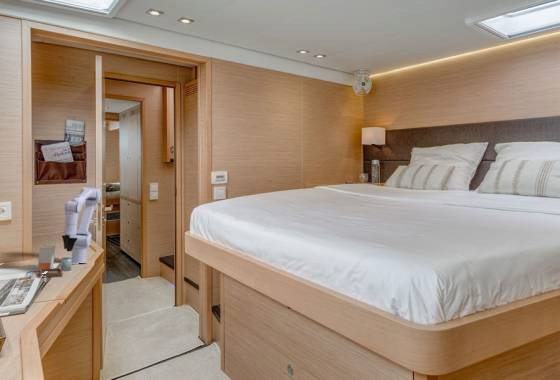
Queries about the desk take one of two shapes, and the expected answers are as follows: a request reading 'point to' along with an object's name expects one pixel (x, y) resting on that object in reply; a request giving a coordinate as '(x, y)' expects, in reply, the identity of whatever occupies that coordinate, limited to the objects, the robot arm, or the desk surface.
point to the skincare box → (46, 257)
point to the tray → (52, 272)
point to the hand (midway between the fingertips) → (67, 250)
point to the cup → (66, 264)
